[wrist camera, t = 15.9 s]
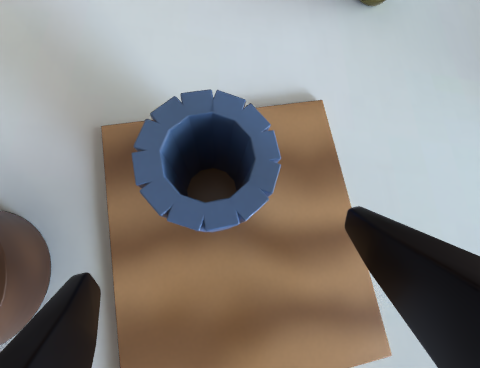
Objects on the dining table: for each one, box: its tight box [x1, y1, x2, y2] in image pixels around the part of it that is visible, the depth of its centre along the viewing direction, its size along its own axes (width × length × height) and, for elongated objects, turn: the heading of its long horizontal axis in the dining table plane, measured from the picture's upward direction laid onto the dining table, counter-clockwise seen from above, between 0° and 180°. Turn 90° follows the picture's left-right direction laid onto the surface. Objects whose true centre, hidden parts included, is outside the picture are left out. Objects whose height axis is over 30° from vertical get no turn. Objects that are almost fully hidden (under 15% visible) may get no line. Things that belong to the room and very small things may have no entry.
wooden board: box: [101, 100, 392, 368], centre depth 17 cm, size 20×18×1 cm
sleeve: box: [132, 90, 281, 232], centre depth 13 cm, size 6×6×8 cm
